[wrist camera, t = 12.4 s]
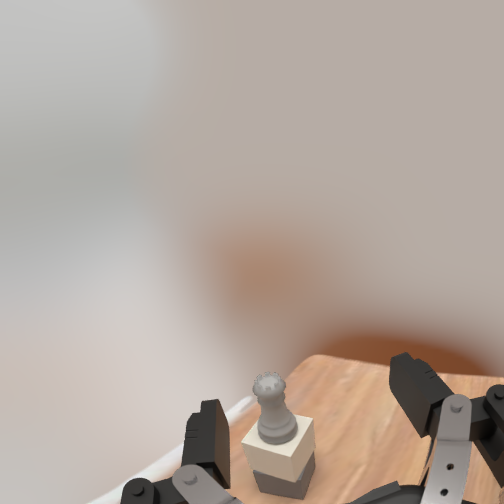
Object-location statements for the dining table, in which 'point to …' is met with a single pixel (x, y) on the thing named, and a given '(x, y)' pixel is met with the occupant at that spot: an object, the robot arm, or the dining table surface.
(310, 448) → the tower top
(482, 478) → the dining table surface
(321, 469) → the dining table surface
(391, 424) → the dining table surface
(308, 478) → the tower base
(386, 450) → the dining table surface
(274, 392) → the rook chess piece
